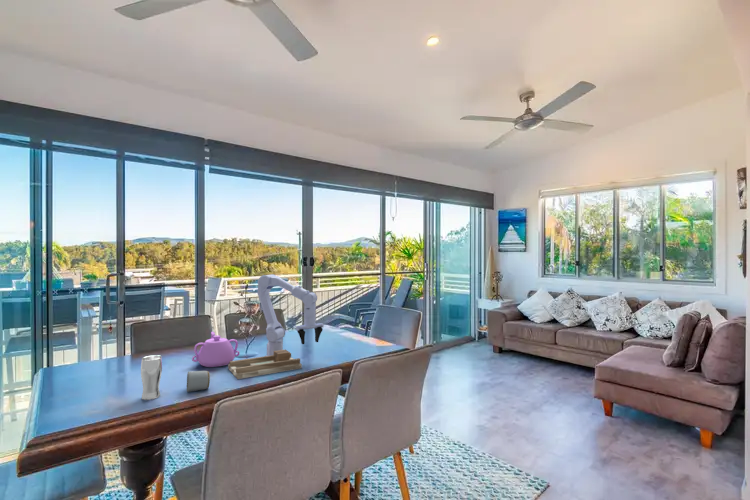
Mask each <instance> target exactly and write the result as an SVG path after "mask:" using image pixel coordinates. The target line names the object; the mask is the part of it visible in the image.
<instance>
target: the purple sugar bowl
mask: <svg viewBox="0 0 750 500" xmlns="http://www.w3.org/2000/svg"><path fill="white" fill-rule="evenodd" d="M231 342H235V347H234V346H233V345H232V343H231ZM198 346H201V347H200V349H199V351H197V350H198V349H197V348H198ZM238 346H239V343H238V340H237V339H235V338H232V339H228V338H226V337H222V336H221V335H218V334H217V335H216V332H214V331H211V332H210V338H209V339H208V338H207V339H206V340H205V341H204V342H201V341H200V342H198V343H195V345H194V347H193V351H194V355H193V356H192V358H191V361H192V362H193V363H194V362H196V363H197V362H198V363H199V364H200V365H201V366H202V367H206V368H215V367H216V368H218V367H223V366H228V365H229V361H234V359H235V357H239V355H240V351H239V350H237V349H238Z"/></svg>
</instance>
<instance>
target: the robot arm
mask: <svg viewBox="0 0 750 500" xmlns="http://www.w3.org/2000/svg"><path fill="white" fill-rule="evenodd" d="M275 286H276V287H279V288H282V289H284V290H286V291H289V292H290V294H291V296H292V297H294V298H296V299H298V300H300V301H302V303H303V304H304V307H303V308H304V312H303V316H304V317H303V318H304V319H303V321H304V322H303V324H300V325H296V326H295V331H297V334H298V336H299V339H300V341H301V344H302V345H305V344H306V343H305V342H306V341H305V339H306V338H305V336H306V331H305V330H309V329H310V330H311V329H314V340H315V341H314V342H315V343H319V340H320V336H321V334H322V332H323V328H324V325H325V324H324V323H322V322H320V323H316V319H317V317H316V313H317V311H316V309H317V305H316V303H317V301H318V295H317V293H315V292H314V291H310V290H307V289H305V288H303V286H302V285H293V284H291V283H289V282H288V281H286V280H285V279H284V278H281V277H280V276H278V275H276V274H273V273H272V274H267V275H266V274H263V275H261V276H260V277H259V278H258V279H257V296H258V299H259V303H260V306H261V309H262V312H263V315H264V319H265V322H266V324H267V325H266V328H265V331H266V334H265V335H266V339H267V343H266V355H265V356H271V355H274V351H278V350H284V349H283V348H284V337H285V335H286V330H285V328H283V326H282V324H281V322H280V321H278V318H277V315H276V312H275V309H274V305H273V303H272V299H271V296H270V292H271V290H272V289H273V288H274V287H275Z"/></svg>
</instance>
